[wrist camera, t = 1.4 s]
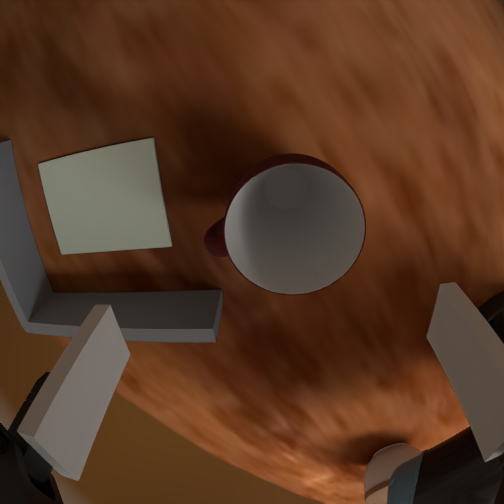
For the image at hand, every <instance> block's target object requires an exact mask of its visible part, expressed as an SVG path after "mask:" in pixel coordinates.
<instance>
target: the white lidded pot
mask: <svg viewBox="0 0 504 504" xmlns="http://www.w3.org/2000/svg"><path fill="white" fill-rule="evenodd" d="M421 453H422V452H421V451H420V450H418V449H417V448H415V447H413V446H409V445H408V444H407V443H395V444H392V445H388V446H386V447H384V448H382V449H380V450H378V451H377V452H376V453H375V454H374V455H373V458H372V459H371V460H370V462H369V463H368V465H367V467H366V470H365V473H364V492H365V495H364V497H365V501H366V502H367V503H369V504H384V503H387V493H388V486H389V481H390V478H391V476H392V474H393V472H394V470H395V469H396V468H397V467H398V466H399V465H401V464H402V463H404V462H406V461H408V460H410V459H412V458H414V457H416V456H418V455H420V454H421Z"/></svg>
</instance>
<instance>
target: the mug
mask: <svg viewBox="0 0 504 504" xmlns="http://www.w3.org/2000/svg"><path fill="white" fill-rule="evenodd" d="M365 234H366V219H365V213H364V210H363V206H362V204H361V201H360V199H359V197H358V195H357V194H356V192H355V191H354V189H353V188H352V186H351V185H350V184H349V183H348V182H347V181H346V179H345V178H344V177H343V176H342V175H341V174H340V173H339V172H338V171H337V170H335V169H334V168H333V167H331V166H330V165H328V164H327V163H325V162H323V161H321V160H319V159H317V158H314V157H311V156H307V155H303V154H282V155H276V156H273V157H270V158H268V159H265V160H263V161H261V162H259V163H258V164H256V165H255V166H253V167H252V168H251V169H250V170H248V171H247V172H246V174H245V175H244V176H243V177H242V178H241V179H240V180H239V182H238V183H237V185H236V187H235V188H234V190H233V192H232V194H231V197H230V199H229V202H228V205H227V209H226V213H225V217H224V218H222V219H221V220H219V221H218V222H216V223H215V224H214V225H213V226H211V227H210V228H209V230H208V231H207V232H206V234H205V237H204V242H205V245H206V248H207V249H208V251H209V252H210V253H212V254H213V255H215V256H220V257H224V256H229V258H230V259H231V261H232V263H233V265H234V266H235V267H236V269H237V270H238V271H239V272H240V273H241V274H242V275H243V276H244V277H245V278H246V279H247V280H248V281H250V282H251V283H253V284H254V285H256V286H258V287H260V288H262V289H264V290H267V291H270V292H273V293H277V294H283V295H302V294H308V293H312V292H316V291H319V290H322V289H324V288H326V287H328V286H330V285H332V284H333V283H335V282H336V281H338V280H339V279H340V278H342V277H343V276H344V275H345V274H346V273H347V272H348V271H349V270H350V269H351V267H352V266H353V265H354V263H355V262H356V260H357V258H358V257H359V255H360V252H361V250H362V247H363V244H364V240H365Z"/></svg>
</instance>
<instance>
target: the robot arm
mask: <svg viewBox="0 0 504 504" xmlns="http://www.w3.org/2000/svg"><path fill="white" fill-rule="evenodd" d="M427 339H428V341H429V343H430V345H431V347H432V348H433V350H434V352H435V354H436V356H437V358H438V360H439V362H440V364H441V366H442V368H443V370H444V372H445V373H446V375H447V377H448V380H449V382H450V384H451V386H452V388H453V390H454V392H455V394H456V396H457V398H458V400H459V402H460V405H461V407H462V409H463V411H464V413H465V416H466V418H467V420H468V422H469V425H470V426H469V427H468V428H466V429H464V430H463V431H461V432H459V433H458V434H456V435H454V436H453V437H451V438H449V439H447V440H446V441H444V442H442V443H440V444H438V445H436V446H434V447H433V448H431V449H429V450H425V451H422V453H421V454H420V455H418V456H416V457H414V458H412V459H410V460H408V461H406V462H404V463H402V464H401V465H399V466H398V467H397V468H396V469H395V470H394V472H393V474H392V476H391V478H390V481H389V486H388V493H387V504H504V292H503V293H501V294H499V295H497V296H495V297H494V298H492V299H491V300H489V301H488V302H487V303H485V304H484V305H483V306H482V307H481V308H480V309H479V310H478V309H477V308H476V307H475V305H474V304H473V303H472V302H471V300H470V299H469V298H468V297H467V296H466V294H465V293H464V292H463V291H462V289H461V288H460V287H459V286H458V285H457V283H456V282H451V283H444V284H440V287H439V291H438V295H437V300H436V304H435V308H434V311H433V315H432V319H431V323H430V326H429V330H428V333H427ZM129 357H130V352H129V350H128V348H127V345H126V343H125V340H124V338H123V336H122V333H121V331H120V328H119V326H118V323H117V321H116V318H115V315H114V313H113V310H112V308H111V305H95V306H94V307H93V309H92V310H91V312H90V313H89V314H88V316H87V317H86V319H85V320H84V322H83V323H82V325H81V326H80V328H79V329H78V331H77V332H76V333H75V335H74V336H73V338H72V340H71V341H70V343H69V344H68V346H67V347H66V349H65V350H64V352H63V353H62V355H61V356H60V358H59V360H58V361H57V363H56V364H55V366H54V368H53V369H52V371H51V372H46V373H45V374H44V375H43V376H42V377H40V378H39V379H38V380H37V381H36V383H35V385H34V386H33V388H32V390H31V393H29V395H28V396H27V398H26V401H25V402H24V403H23V405H22V406H21V408H20V410H19V412H18V413H17V415H16V417H15V419H14V421H13V422H12V424H11V426H10V428H9V429H8V431H7V430H6V428H5V427H4V426H3V425H2V424H1V423H0V504H63V501H62V498H61V495H60V493H59V490H58V487H57V484H56V481H55V478H54V477H53V475H52V474H51V471H52V468H54V469H55V470H56V471H58V472H59V473H60V474H61V475H62V476H65V477H68V478H71V479H74V480H78V481H79V479H80V476H81V473H82V470H83V468H84V465H85V462H86V460H87V457H88V455H89V452H90V449H91V447H92V444H93V442H94V439H95V436H96V434H97V431H98V429H99V427H100V424H101V421H102V419H103V417H104V414H105V412H106V410H107V407H108V404H109V402H110V400H111V397H112V395H113V393H114V391H115V388H116V386H117V384H118V381H119V379H120V377H121V375H122V372H123V370H124V368H125V366H126V363H127V361H128V359H129Z"/></svg>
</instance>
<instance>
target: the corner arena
mask: <svg viewBox="0 0 504 504" xmlns="http://www.w3.org/2000/svg"><path fill="white" fill-rule="evenodd" d="M38 166H39V171H40V176H41V181H42V185H43V189H44V194H45V198H46V202H47V206H48V210H49V213H50V217H51V221H52V224H53V228H54V231H55V235H56V238H57V241H58V245H59V248H60V251H61V254H76V253H89V252H103V251H116V250H131V249H145V248H160V247H172V241H171V236H170V231H169V226H168V220H167V215H166V209H165V204H164V198H163V192H162V186H161V180H160V174H159V168H158V161H157V155H156V148H155V141H154V138H149V139H143V140H138V141H132V142H127V143H122V144H117V145H112V146H107V147H103V148H98V149H94V150H90V151H85V152H81V153H77V154H73V155H69V156H65V157H61V158H58V159H54V160H50V161H47V162H43V163H40V164H38ZM0 280H1V282H2V284H3V287H4V289H5V291H6V294H7V296H8V298H9V301H10V303H11V305H12V307H13V309H14V311H15V313H16V315H17V318H18V320H19V322H20V323H21V326H22V328H23V329H25V331H26V332H28V333H35V334H44V335H54V336H64V337H73V336H74V335H75V333H76V332H77V331H78V329H79V328H80V326H81V325H82V323H83V322H84V320H85V319H86V317H87V316H88V314H89V313H90V312H91V310H92V309H93V307H94V306H95V305H111V308H112V310H113V313H114V315H115V318H116V321H117V323H118V326H119V328H120V331H121V333H122V336H123V338H124V340H125V341H144V342H216V338H217V333H218V328H219V323H220V317H221V312H222V307H223V296H222V289H220V290H194V291H161V292H106V293H54V292H53V290H52V287H51V285H50V282H49V280H48V277H47V274H46V272H45V269H44V266H43V263H42V260H41V258H40V255H39V252H38V249H37V246H36V243H35V239H34V236H33V233H32V230H31V226H30V223H29V219H28V216H27V212H26V209H25V205H24V201H23V197H22V193H21V189H20V184H19V180H18V175H17V171H16V166H15V160H14V155H13V149H12V143H11V140H8V141H4V142H1V143H0Z"/></svg>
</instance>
